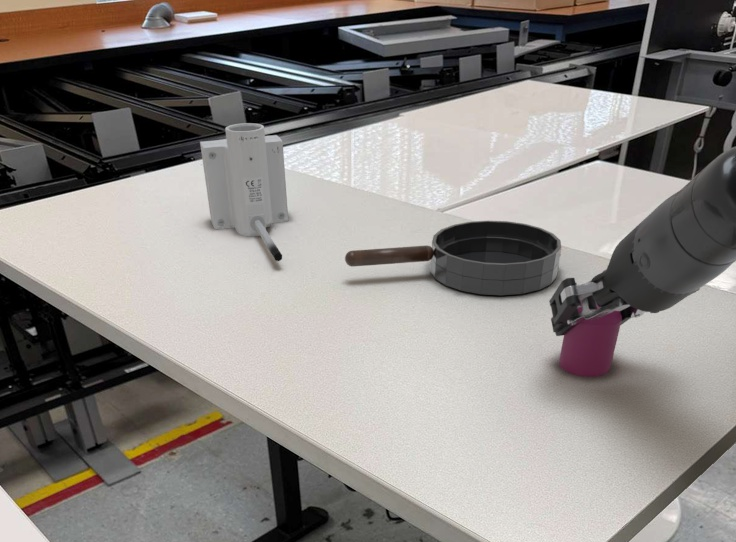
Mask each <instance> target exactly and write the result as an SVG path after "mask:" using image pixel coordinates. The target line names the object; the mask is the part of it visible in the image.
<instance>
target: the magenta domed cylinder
mask: <svg viewBox="0 0 736 542" xmlns="http://www.w3.org/2000/svg"><path fill="white" fill-rule="evenodd" d="M596 306H597V309H599V308H600V307H599V306H598V305H597V303H596ZM582 310H583V308H582V303H581V308H578V312H579V313H581V312H582ZM621 321H622V316H621V313H620V311H613V312H611V313H609V314H607V315H605V316H603V317H601V318H599V319H597V320H588V319H586V320H584V321H582V322H580V323H578V324H577V325H576V326H575V327H574V328H572V329H571V330H570V331H569V332H567V333H566V334H565V335H563V337H562V338H563V339H562V343H561V349H560V354H559V359H558V365H559V368H561V369H562V370H563V371H565V372H567V373H568V374H571V375H574V376H578V377H584V378H594V377H602V376H605V375H606V374H608V373H609V372H610V370H611V367H612V362H613V358H614V354H615V350H616V345H617V341H618V338H619V333H620V330H621V326H622V325H621Z"/></svg>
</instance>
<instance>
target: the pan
mask: <svg viewBox="0 0 736 542" xmlns="http://www.w3.org/2000/svg"><path fill="white" fill-rule="evenodd" d="M431 247H432V249H433V250H434V256H433V258H432V259H431V260H430V271H429V272H430V273H431V274H432V275H433V278H434V279H435V280H436V281H438V282H440V283H442V285H444V286H446V287H450V288H452V289H455V290H458V291H461V292H465V293H471V294H477V295H485V296H486V295H487V296H512V295H523V294H526V293H531V292H535V291H540V290H542V289H544V288H547V287H548V286H550V285H552V283H553V282H554V281H555V280H556V278H558V277H557V276H558V270H559V264H560V259H561V253H562V241H561V239H560V238H559V237H558V236H556V234H554V233H553V232H551V231H549V230H546V229H544V228H542V227H539V226H535V225H531V224H527V223H522V222H516V221H507V220H475V221H466V222H460V223H456V224H452V225H449V226H445V227H444V228H442V229H440V230H438V231H437V232H436V233H435V234H433V235H432V240H431Z"/></svg>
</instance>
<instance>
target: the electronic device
mask: <svg viewBox="0 0 736 542" xmlns="http://www.w3.org/2000/svg"><path fill="white" fill-rule="evenodd" d="M224 131H225V138H223V139H216V140H215V139H214V140H204V141H199V145H200V151H201V159H202V165H203V173H204V174H203V175H204V180H205V187H206V194H207V195H206V196H207V202H208V209H209V215H210V222H211V225H212V227H213V228H214V230H223V229H230V228H233V229H235V231H236V232H237V233H238V235H241V236H243V237H261V239H262V241H263V242H264V245H266V247H267V249H268V250H269V253H270V254H271V256H272V257H273V259H274V260H275V262H280V261H281V260H283V254H282V253H281V251H280V249H279V247H277V245H276V243H275V241H274V240H273V239H272V237H271V236H270V234H269V232H268V231H267V228H272V227H273V226H272V224H273V223H274V224H277V223H282V222H289V209H288V196H287V182H286V181H287V180H286V168H285V154H284V141H283V140H282V138H281V137H279V136H278V134H273V135H266V134H265V125H263V124H261V123H255V122H254V123H252V122H246V123H235V124H230V125H228V126H226V127H225V130H224Z"/></svg>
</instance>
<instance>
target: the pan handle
mask: <svg viewBox="0 0 736 542" xmlns="http://www.w3.org/2000/svg"><path fill="white" fill-rule="evenodd" d="M433 256H434V250H433V249H432V246H430V245H413V246H397V247H387V248H385V247H384V248H371V249H357V250H356V249H355V250H350V251H347V253H346V254H345V256H344V261H345V264H346V265H348V267H351V268H353V267H367V266H369V267H370V266H381V265H393V264H394V265H395V264H408V263H422V262H423V263H424V262H429V261H430V262H431V259H432V258H433Z"/></svg>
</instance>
